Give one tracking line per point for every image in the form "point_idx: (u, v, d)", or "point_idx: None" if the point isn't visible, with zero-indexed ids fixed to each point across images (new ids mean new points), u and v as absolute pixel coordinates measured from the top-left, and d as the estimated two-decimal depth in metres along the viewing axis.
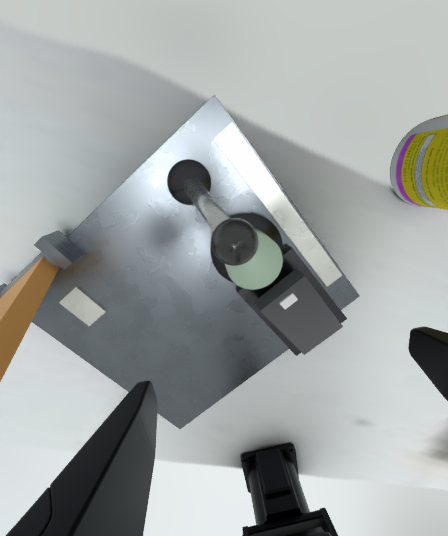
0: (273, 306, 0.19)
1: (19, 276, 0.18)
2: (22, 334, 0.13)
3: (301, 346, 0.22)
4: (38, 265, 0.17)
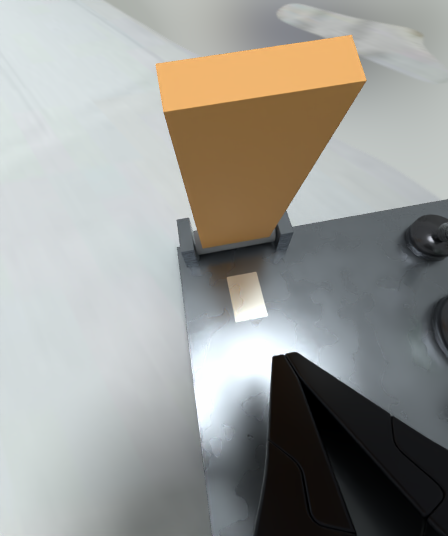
0: None
1: None
2: None
3: None
4: None
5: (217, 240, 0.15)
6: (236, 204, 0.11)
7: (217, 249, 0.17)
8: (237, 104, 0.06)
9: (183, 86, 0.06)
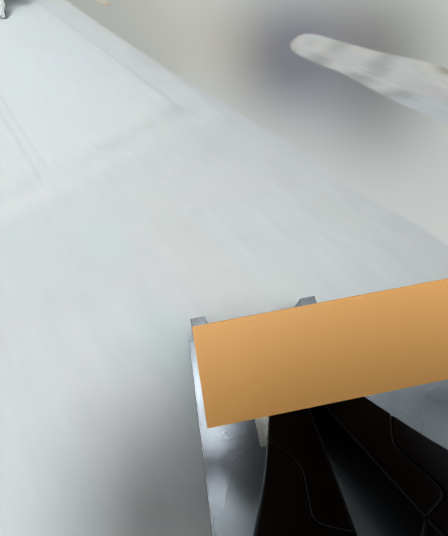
0: None
1: None
2: None
3: None
4: None
5: None
6: None
7: None
8: (331, 397, 0.03)
9: (240, 373, 0.03)
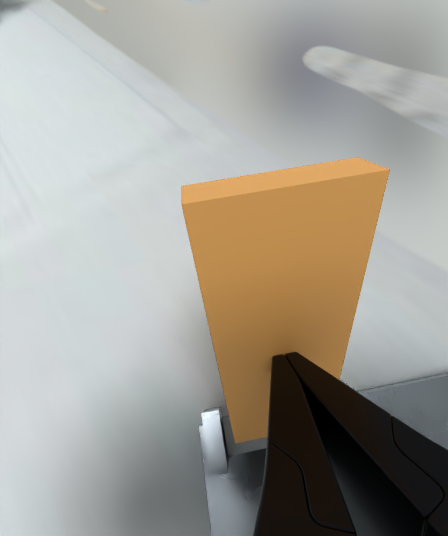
0: None
1: None
2: None
3: None
4: None
5: (255, 425, 0.11)
6: (273, 353, 0.08)
7: (256, 445, 0.12)
8: (258, 197, 0.05)
9: (203, 191, 0.06)
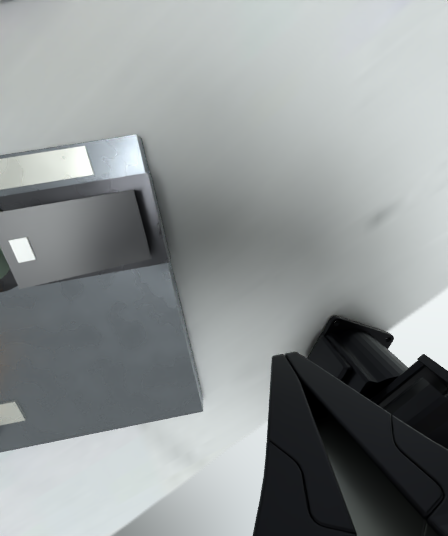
0: (21, 271, 0.14)
1: None
2: None
3: (131, 257, 0.15)
4: None
5: None
6: None
7: None
8: None
9: None
